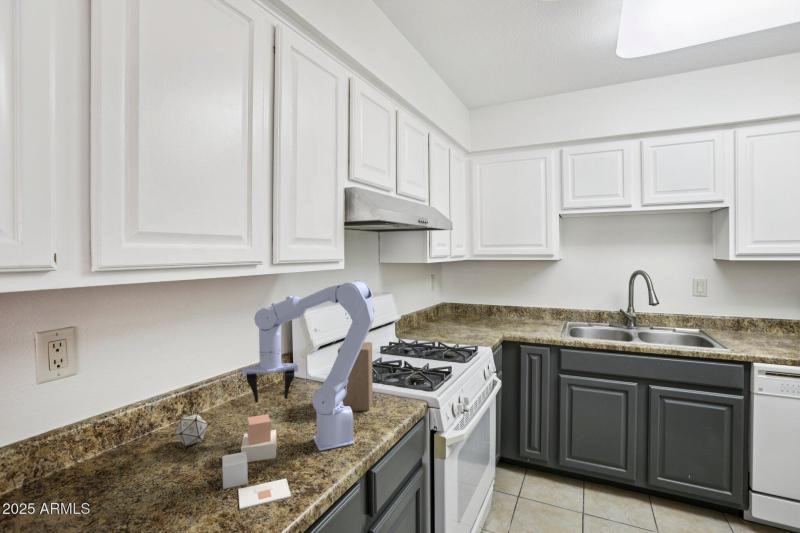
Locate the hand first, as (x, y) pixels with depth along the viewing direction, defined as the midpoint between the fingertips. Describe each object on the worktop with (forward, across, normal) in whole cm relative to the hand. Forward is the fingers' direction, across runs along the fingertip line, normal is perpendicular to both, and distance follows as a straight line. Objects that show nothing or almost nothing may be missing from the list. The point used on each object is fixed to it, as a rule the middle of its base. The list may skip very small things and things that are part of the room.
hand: (271, 399), depth 112 cm
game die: (+11, -20, +2) cm, 23 cm away
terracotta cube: (+7, -3, -9) cm, 11 cm away
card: (+10, -2, -27) cm, 29 cm away
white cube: (+10, -8, -20) cm, 24 cm away
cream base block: (+11, -3, -8) cm, 14 cm away
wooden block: (+11, +27, +14) cm, 32 cm away
